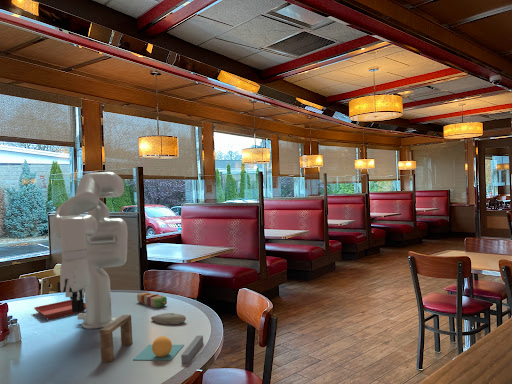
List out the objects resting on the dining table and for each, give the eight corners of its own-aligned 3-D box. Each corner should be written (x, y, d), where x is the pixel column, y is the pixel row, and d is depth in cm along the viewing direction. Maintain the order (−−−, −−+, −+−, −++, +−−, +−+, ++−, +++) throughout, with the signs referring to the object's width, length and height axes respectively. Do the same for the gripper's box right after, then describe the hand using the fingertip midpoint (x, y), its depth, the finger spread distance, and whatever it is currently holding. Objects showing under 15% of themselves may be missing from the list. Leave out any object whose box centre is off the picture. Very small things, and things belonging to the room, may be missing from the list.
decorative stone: (155, 319, 167) (155, 310, 167) (190, 321, 162) (189, 312, 162) (147, 324, 162) (146, 315, 162) (182, 326, 157) (182, 317, 156)
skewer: (135, 303, 193) (134, 292, 193) (147, 300, 198) (146, 290, 198) (159, 311, 179) (159, 299, 179) (172, 307, 183) (171, 296, 183)
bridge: (101, 362, 126) (99, 330, 126) (124, 343, 141) (122, 314, 141) (110, 362, 126) (108, 330, 126) (132, 343, 141) (131, 314, 140)
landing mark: (133, 360, 126) (133, 359, 126) (149, 345, 138) (149, 344, 138) (171, 360, 124) (171, 359, 124) (183, 345, 136) (183, 344, 136)
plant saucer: (33, 314, 185) (33, 306, 185) (75, 305, 197) (75, 298, 197) (45, 322, 171) (44, 314, 171) (89, 312, 183) (89, 304, 183)
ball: (169, 354, 124) (153, 363, 125) (178, 348, 130) (163, 357, 131) (160, 335, 125) (145, 344, 126) (169, 330, 131) (155, 339, 132)
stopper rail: (181, 363, 122) (181, 355, 122) (197, 343, 138) (197, 335, 138) (188, 363, 122) (187, 355, 122) (203, 343, 137) (202, 335, 137)
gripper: (77, 251, 143) (80, 304, 143) (49, 259, 128) (53, 318, 128) (97, 251, 142) (100, 304, 142) (72, 259, 127) (75, 318, 127)
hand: (78, 311), depth 135 cm, fingers closed
